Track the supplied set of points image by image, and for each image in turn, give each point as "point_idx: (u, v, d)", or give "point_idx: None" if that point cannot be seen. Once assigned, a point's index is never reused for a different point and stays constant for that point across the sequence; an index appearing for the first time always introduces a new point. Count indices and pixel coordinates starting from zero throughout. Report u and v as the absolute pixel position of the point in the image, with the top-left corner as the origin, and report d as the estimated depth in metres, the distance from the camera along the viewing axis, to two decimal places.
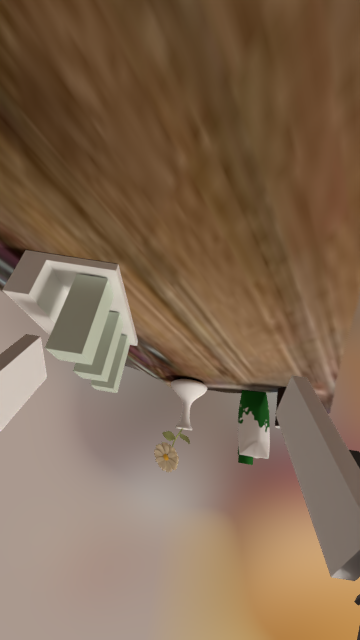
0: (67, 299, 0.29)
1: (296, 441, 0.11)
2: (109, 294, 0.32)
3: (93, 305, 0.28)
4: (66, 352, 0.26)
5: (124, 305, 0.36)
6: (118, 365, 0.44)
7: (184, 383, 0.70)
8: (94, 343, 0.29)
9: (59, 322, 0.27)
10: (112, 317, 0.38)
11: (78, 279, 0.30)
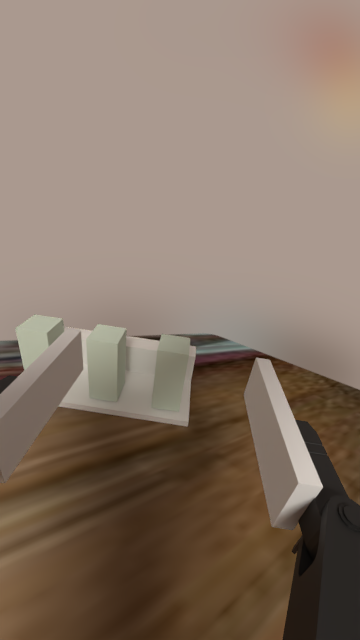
0: None
1: (256, 415, 0.12)
2: (164, 404, 0.34)
3: None
4: (187, 346, 0.32)
5: (130, 411, 0.34)
6: None
7: None
8: (167, 366, 0.31)
9: None
10: (118, 392, 0.35)
11: None
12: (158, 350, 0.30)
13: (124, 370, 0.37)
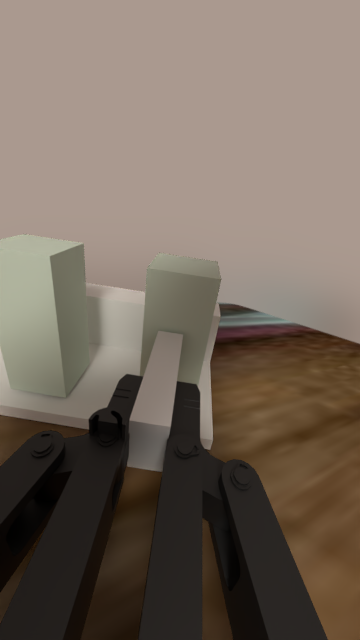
0: None
1: None
2: None
3: None
4: (213, 269, 0.14)
5: None
6: None
7: None
8: (170, 310, 0.14)
9: None
10: (71, 379, 0.17)
11: None
12: (150, 269, 0.13)
13: (86, 337, 0.19)
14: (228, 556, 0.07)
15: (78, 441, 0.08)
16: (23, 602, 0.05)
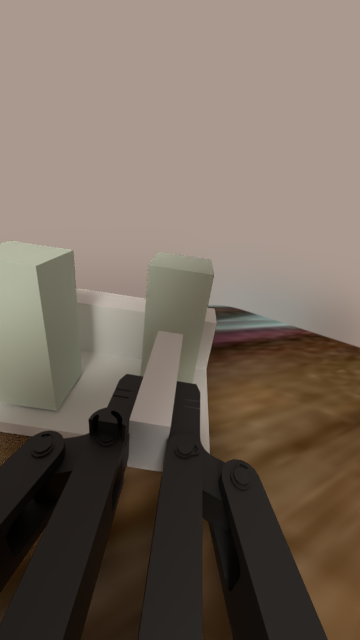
0: None
1: None
2: None
3: None
4: (207, 266, 0.16)
5: (83, 431, 0.16)
6: None
7: None
8: (169, 302, 0.16)
9: None
10: (62, 391, 0.17)
11: None
12: (150, 266, 0.15)
13: (77, 346, 0.18)
14: (228, 556, 0.07)
15: (78, 441, 0.08)
16: (23, 602, 0.05)
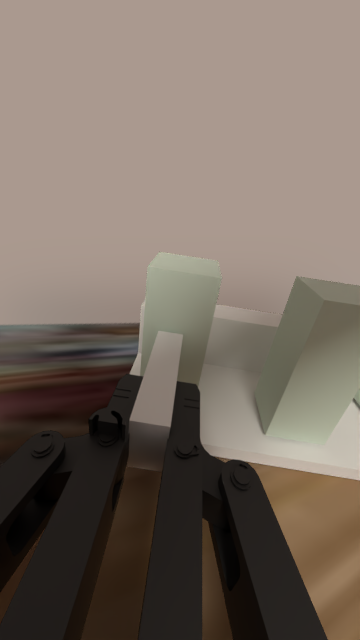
0: None
1: None
2: None
3: None
4: None
5: None
6: None
7: None
8: None
9: None
10: None
11: None
12: None
13: None
14: (228, 556, 0.07)
15: (78, 441, 0.08)
16: (23, 602, 0.05)
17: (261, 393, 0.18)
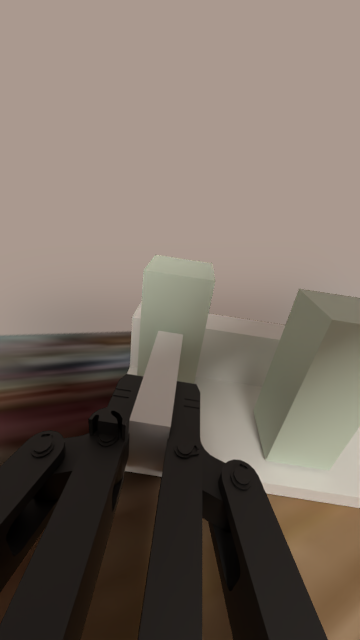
0: None
1: None
2: None
3: None
4: None
5: None
6: None
7: None
8: None
9: None
10: None
11: None
12: None
13: None
14: (228, 556, 0.07)
15: (78, 441, 0.08)
16: (23, 602, 0.05)
17: (261, 412, 0.17)
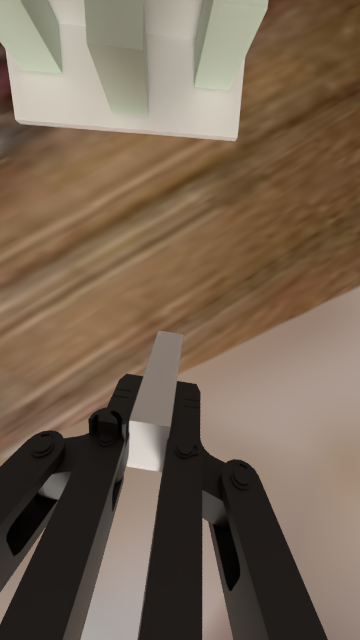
0: None
1: None
2: (212, 83, 0.26)
3: None
4: None
5: (167, 130, 0.28)
6: (34, 23, 0.20)
7: None
8: (225, 30, 0.20)
9: None
10: None
11: None
12: (215, 2, 0.17)
13: (147, 57, 0.23)
14: (228, 556, 0.07)
15: (78, 441, 0.08)
16: (23, 602, 0.05)
17: None
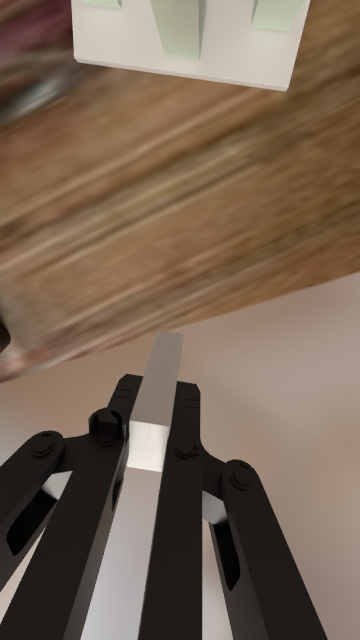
0: None
1: None
2: (270, 22, 0.25)
3: None
4: None
5: (217, 75, 0.28)
6: None
7: None
8: None
9: None
10: (200, 43, 0.26)
11: None
12: None
13: None
14: (228, 556, 0.07)
15: (78, 441, 0.08)
16: (23, 602, 0.05)
17: None
